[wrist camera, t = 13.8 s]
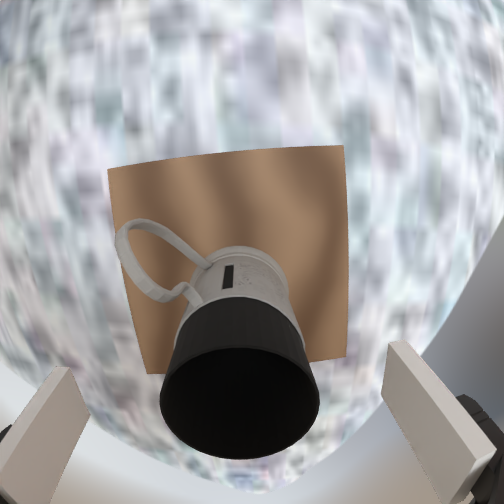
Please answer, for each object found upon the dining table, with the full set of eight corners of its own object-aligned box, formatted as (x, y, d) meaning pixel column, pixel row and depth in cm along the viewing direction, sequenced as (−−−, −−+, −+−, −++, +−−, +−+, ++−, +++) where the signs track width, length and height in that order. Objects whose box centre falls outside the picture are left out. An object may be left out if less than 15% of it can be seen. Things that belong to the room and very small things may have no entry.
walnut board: (150, 365, 31) (147, 373, 30) (113, 169, 27) (107, 169, 25) (341, 349, 32) (345, 356, 30) (338, 146, 27) (343, 145, 25)
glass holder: (227, 354, 30) (222, 482, 15) (131, 232, 27) (33, 296, 12) (307, 305, 29) (361, 418, 14) (213, 170, 26) (181, 169, 11)
